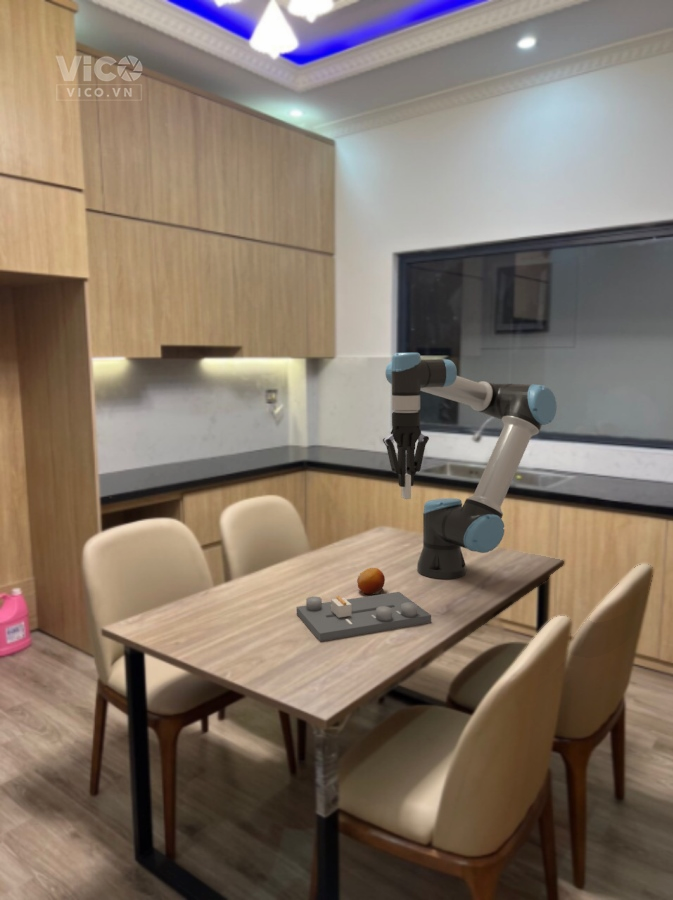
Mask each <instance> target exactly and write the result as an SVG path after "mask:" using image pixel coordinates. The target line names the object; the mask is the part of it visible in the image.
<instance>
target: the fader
mask: <svg viewBox="0 0 673 900" xmlns="http://www.w3.org/2000/svg"><path fill="white" fill-rule="evenodd" d="M330 602H331V611H332V612H333V613H334V614H335V615H336V616H337V617H338V618H340V617H347V616H351V603H349V602H348V601H347V599H346V598H345V597H340V595H337V596H336V597H335V598H332V599H331V600H330Z"/></svg>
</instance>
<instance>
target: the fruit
mask: <svg viewBox="0 0 673 900" xmlns="http://www.w3.org/2000/svg"><path fill="white" fill-rule="evenodd" d="M385 580H386V579H385V574H384V573H383V571H381V570H380V569H379V568H378V567H370V568H367V569H365V570H364V571H363V570H362V572H360V573H359V575H358V577H357V580H356V582H357V588H358V590H360V591H361V593H363V594H366V595H368V596H371V595H380V594H381V591H384V586H385Z"/></svg>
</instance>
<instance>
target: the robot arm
mask: <svg viewBox="0 0 673 900" xmlns="http://www.w3.org/2000/svg"><path fill="white" fill-rule="evenodd" d="M457 373H458V371H457V366H456V364H455V363H454V362H453V360H450V359H447V358H446V359H444V358H440V359H439V358H435V359H422V358H421V354H420V353H419V352H395V353H394V354H393V355H392V357H391V361H390V362H389V363H388V364H387V366H386V368H385V378H386V381H387V382H388V383H389V384H391V410H392V411H393V412H392V413H391V427H392V429H391V432H390V435H389V436H388V437H383V438H382V442H383V444H384V445H385V447H386V450H387V451H386V452H387V455H388V459H389V463H390V469H391V472H392V473H394V474H397V475H398V486H399V487H401V491H400V492H401V495H400V496H401V498H402V499H404V500H411V499H412V487H413V486H414V483H415V482H414V478H415V477H414V476H415V475H416V474H417V473H419V472H420V471H421V469H422V463H423V459H424V454H425V449H426V446H427V443H428V442H429V440H430V438H429V436H428V435H425V434H423V433H422V430H421V427H420V426H421V412H420V410H421V392H423V393H427V394H431V395H433V396H437V397H440V398H444V399H447V400H450V401H454V402H456V403H460V404H463V405H467V406H470V408H471V409H472V410H474V411H476V412H479V413H481V414H484V415H487V416H490V417H492V418H494V419H495V418H496V419H499V420H501V421H502V422H501V423H502V424H503V427H502V429H501V432H500V435H499V437H498V438H497V441H496V443H495V446H494V448H493V450H492V452H491V454H490V457H489V459H488V461H487V464H486V466H485V468H484V470H483V472H482V475H481V477H480V479H479V482H478V484H477V487H476V488H475V491H474V493H473V495H472V496H469V497H466V498H465V501H464V503H463V502H462V500H461V499H460V498H449V497H448V498H435V499H430V500H427V501H426V502H425V503H424V505H423V512H422V515H423V516H422V517H423V520H422V521H423V524H422V525H423V526H422V530H423V531H422V532H423V535H422V536H423V537H422V539H423V541H422V543H423V545H422V549H421V552H420V555H419V558H418V561H417V566H416V567H417V569H416V570H417V572H418V574H420V575H421V576H424V577H427V578H430V579H438V580H440V579H443V580H449V579H457V578H460V577H463V576H465V575H466V573H467V564H466V562H465V558H464V555H463V552H462V549H461V548H464V549H466V550H468V551H471V552H476V553H481V554H485V553H489V552H491V551H493V550H495V549H496V548H497V547H498V546H499V545H500V544H501V543H502V540H503V538H504V535H505V529H504V528H505V523H504V521H503V519H502V518H503V516H504V512H503V511H502V508H501V507H502V504H503V503H504V499H505V498H506V496H507V494H508V492H509V488H510V487H511V484H512V482H513V479H514V477H515V474H516V472H517V471H518V468H519V467H520V463H521V461H522V459H523V457H524V454H525V451H526V450H527V447H528V445H529V442H530V440H531V438H532V437H533V436H535V435H536V436H537V435H538V434H539V432H540V431H541V428H542V425H543V426H546V425H549V424H550V423H552V421H554V419H555V417H556V414H557V410H558V409H557V406H558V405H557V401H556V400H557V399H556V396H555V393H554V392H553V391H552V389H550V387H548V386H547V385H543V384H538V383H537V384H536V383H532V384H520V383H494V382H493V383H492V382H488V381H484V380H483V381H482V380H481V381H478V382H477V381H475V380H471V379H468V378H465V377H463V376H460V375H458V374H457ZM417 441H418V442H417ZM394 443H396V448H397V453H396V448H395V445H394ZM416 443H417V444H416Z"/></svg>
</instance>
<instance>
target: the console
mask: <svg viewBox="0 0 673 900" xmlns="http://www.w3.org/2000/svg"><path fill="white" fill-rule="evenodd" d="M346 600H347V601H348V602H349V603H351V616H347V617H340V618H338V617H337V616H336V615H335V614H334V613H333V612H332V611H331V601H328V602H327V601H326V602H323V599H322V598H321V597H320V596H309V597H306V601H305V602H306V605H300V606H296V615H297V616H298V617H299V618H300V621H302V622H303V623H304V625H305V626H306V627H307V628H308V629H309V631H311V633H312V634H313V635H314V637H315V638H316V639H317V640H318V642H325V641H330V640H331V641H332V640H337V639H342V638H343V639H344V638H347V637H348V638H350V637H355V636H361V635H367V634H371V633H373V634H374V633H379V632H383V631H385V632H386V631H389V630H396V629H401V628H407V627H413V626H419V625H424V624H432V614H430V613H429V612H428V611H426V610H425V609H424V608H423V607H420V606H419V605H418V604H417V603H415V602H414V601H413V600H411V599H410V598H409V597H407V596H405V595H404V594H403V593H402V592H400V591H395V592H388V593H382V594H381V593H380V594H373V595H368V596H362V597H360V596H359V597H354V598H348V599H346Z"/></svg>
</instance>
